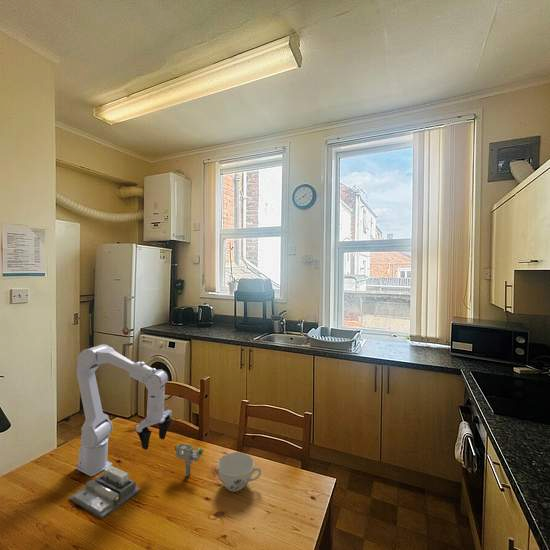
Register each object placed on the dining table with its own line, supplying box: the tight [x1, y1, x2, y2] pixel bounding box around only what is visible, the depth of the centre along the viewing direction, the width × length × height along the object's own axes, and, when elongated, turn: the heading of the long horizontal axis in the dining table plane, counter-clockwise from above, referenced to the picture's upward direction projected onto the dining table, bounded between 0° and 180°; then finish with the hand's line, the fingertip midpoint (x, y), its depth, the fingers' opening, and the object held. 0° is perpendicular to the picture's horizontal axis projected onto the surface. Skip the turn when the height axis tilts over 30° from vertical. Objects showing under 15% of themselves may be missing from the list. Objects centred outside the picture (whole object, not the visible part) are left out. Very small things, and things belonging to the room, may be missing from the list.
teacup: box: [216, 451, 262, 493], centre depth 101 cm, size 15×12×8 cm
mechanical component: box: [174, 443, 204, 478], centre depth 105 cm, size 3×10×10 cm, turn 78°
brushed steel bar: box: [103, 465, 130, 489], centre depth 97 cm, size 9×2×5 cm, turn 64°
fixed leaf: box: [68, 473, 141, 520], centre depth 94 cm, size 16×13×3 cm
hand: (153, 443), depth 106 cm, fingers open, 7 cm apart
